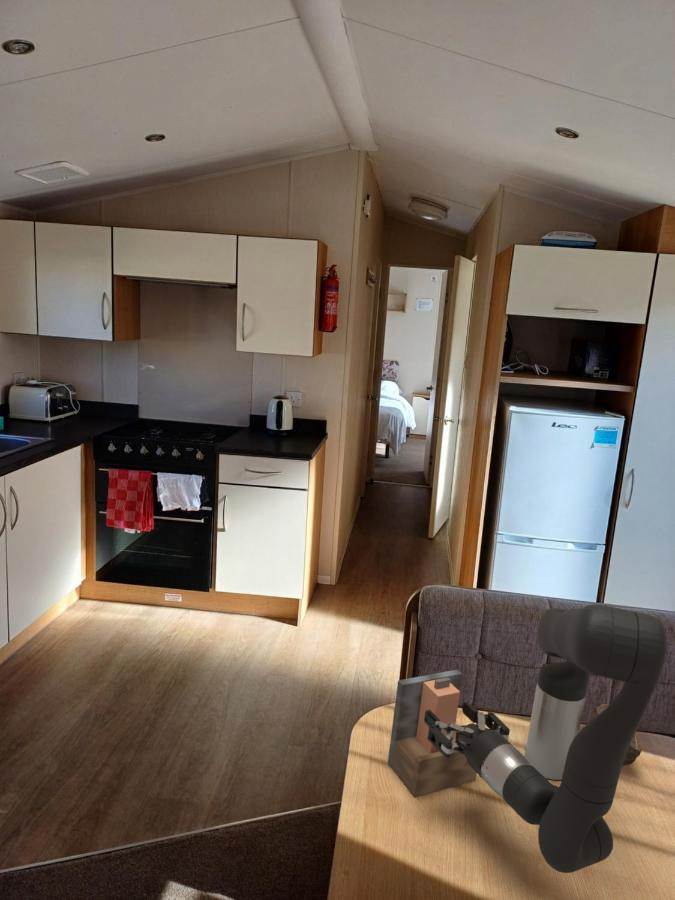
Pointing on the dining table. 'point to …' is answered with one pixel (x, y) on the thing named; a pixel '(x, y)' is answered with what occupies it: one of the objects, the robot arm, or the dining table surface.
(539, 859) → the dining table surface
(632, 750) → the rock
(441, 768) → the grey brown l-shaped block
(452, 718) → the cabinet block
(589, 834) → the robot arm
